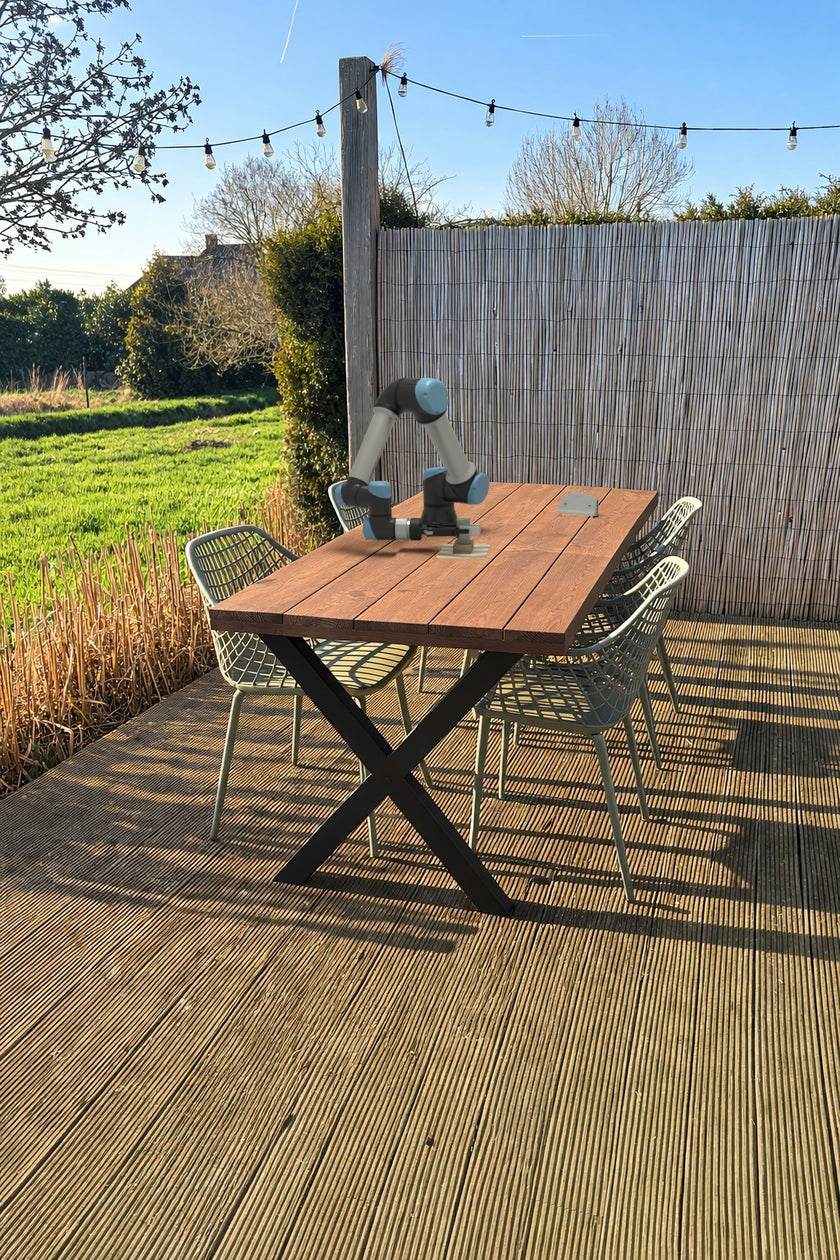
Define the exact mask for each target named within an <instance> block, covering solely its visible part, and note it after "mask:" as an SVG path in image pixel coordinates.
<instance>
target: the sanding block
mask: <svg viewBox="0 0 840 1260" xmlns="http://www.w3.org/2000/svg"><path fill="white" fill-rule="evenodd" d="M470 524H471V518H470V517H458V518H457V527H458V528H459V529H460V527H470ZM474 542H475V541H474V539H471V535H460V534H459V538H457V537H456V539H455V541H454V542H453V543H452V544H453V554H471V553H472V550H473V548H474V544H475V543H474Z"/></svg>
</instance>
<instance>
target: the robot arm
mask: <svg viewBox="0 0 840 1260" xmlns="http://www.w3.org/2000/svg"><path fill="white" fill-rule="evenodd" d="M448 397H449V392H448V389H447V387H446V385H445V384H444V383H443V382H442V381H441V380H439V379H437V378H431V377H423V378H422V377H420V378H419V377H399V378H397V379H396V378H395V379H394V380H393V381H391V382H389V384H388V385H386V387H384V389H383V390H382V391H381V393H380V394H379V395H378V397H377V398H376V400H375V402H374V405H373V408H372V412H373V415H372V418H371V421H370V423H369V425H368V427H367V429H366V433H365V434H364V437H363V440H362V442H361V445H360V447H359V450H358V452H357V454H356V457H355V459H354V462H353V463H352V467H351V469H350V471H349V474H348V477H347V479H346V481H345V483H340V484H338V486H336V488H335V491H334V499H335V501H336V503H338V504H337V505H339V506H343V507H348V508H351V507H352V508H359V509H364V510H368V517H364V519H363V522H362V534H363V537H364V538H365V540H367V541H368V540H370V541H399V542H400V543H403V541H409V540H410V541H413V542H414V541H417V542H419V541H421V540H422V538H423V535H425V536H426V537H427V538H429V537H454V538H455V537H456V539H457V538H459V534H460V535H470V536H480V533H481V531H482V530H481V525H482V524H481V523H470V527H460V529H459V528H458V527H457V518H459V517H458V514H457V512H456V509H455V503H456V504H461V505H462V504H463V505H464V504H465V505H471V506H472V505H481V504H482V503H483V502H484V501H485V500H486V498H487V496H488V493H489V491H490V490H489V489H490V480H489V477H488V475H487V474H486V473H484V472H479V471H478V468H477V467H476V465H475V464H474V463H473V462H472V461H469V460H468V457H467V456H466V454H465V452H464V450H463V447H462V445H461V444H460V441H459V439H458V437H457V435H456V433H455V430H454V429H453V426H452V425H451V423H450V420H449V417H448V416H447V414H446V413H447V411H448V405H449V401H450V399H448ZM405 413H406V414H412V415H413V417H414V420H415V421H416V423H417V424H419V425H422V426H423V427H424V429H425V432H426V434H427V435H428V437H429V439H430V441H431V443H432V445H433V447H434V449H435V452H436V453H437V455H438V457H439V458H440V461H441V464H442V465H443V466H437V467H430V468H426V469H424V470H423V476H422V493H423V494H422V495H423V497H422V498H423V499H422V500H423V509H422V512H421V516H420V517H411V518H409V517H392V516H393V514H392V513H393V512H392V511H393V510H392V507H393V506H392V498H393V497H392V496H393V495H392V487H391V486H392V485H391V483H390V482H389V481H387V480H375V481H372V477H373V475H374V473H375V470H376V468H377V466H378V463H379V460H380V459H381V455H383V454H382V453H383V451H384V449H385V445H386V443H387V441H388V438H389V436H390V434H391V431H392V429H393V427H394V424H395V423H397V422H399V420H400V417H401V416H402V415H403V414H405Z"/></svg>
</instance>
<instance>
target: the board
mask: <svg viewBox="0 0 840 1260" xmlns="http://www.w3.org/2000/svg"><path fill="white" fill-rule="evenodd" d="M453 544H454V543H443V545H442V546H441V548H440V550H439V552H438V553H437V555H436V557H435V559H458V560H459V559H464V560H465V559H468V560H469V559H471V560H472V559H477V560H481V559H482V560H486V558H487V556H488V552H489V551H490V547H491V544H476V543H474V548H473V550H472V553H471V554H453Z"/></svg>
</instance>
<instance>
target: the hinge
mask: <svg viewBox="0 0 840 1260" xmlns="http://www.w3.org/2000/svg"><path fill="white" fill-rule="evenodd" d="M599 502H600V501H599V499H598V498H597V497H595V496H592V495H590V494H587V493H579V492H573V493H566V494H564V495H562V496H561V498H560V502H559V504H558V508H557V510H556V513H565V514H579V515H589V516H594V515H598V516H599V507H600V504H599ZM556 513H555V514H556ZM594 517H595V516H594Z"/></svg>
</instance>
